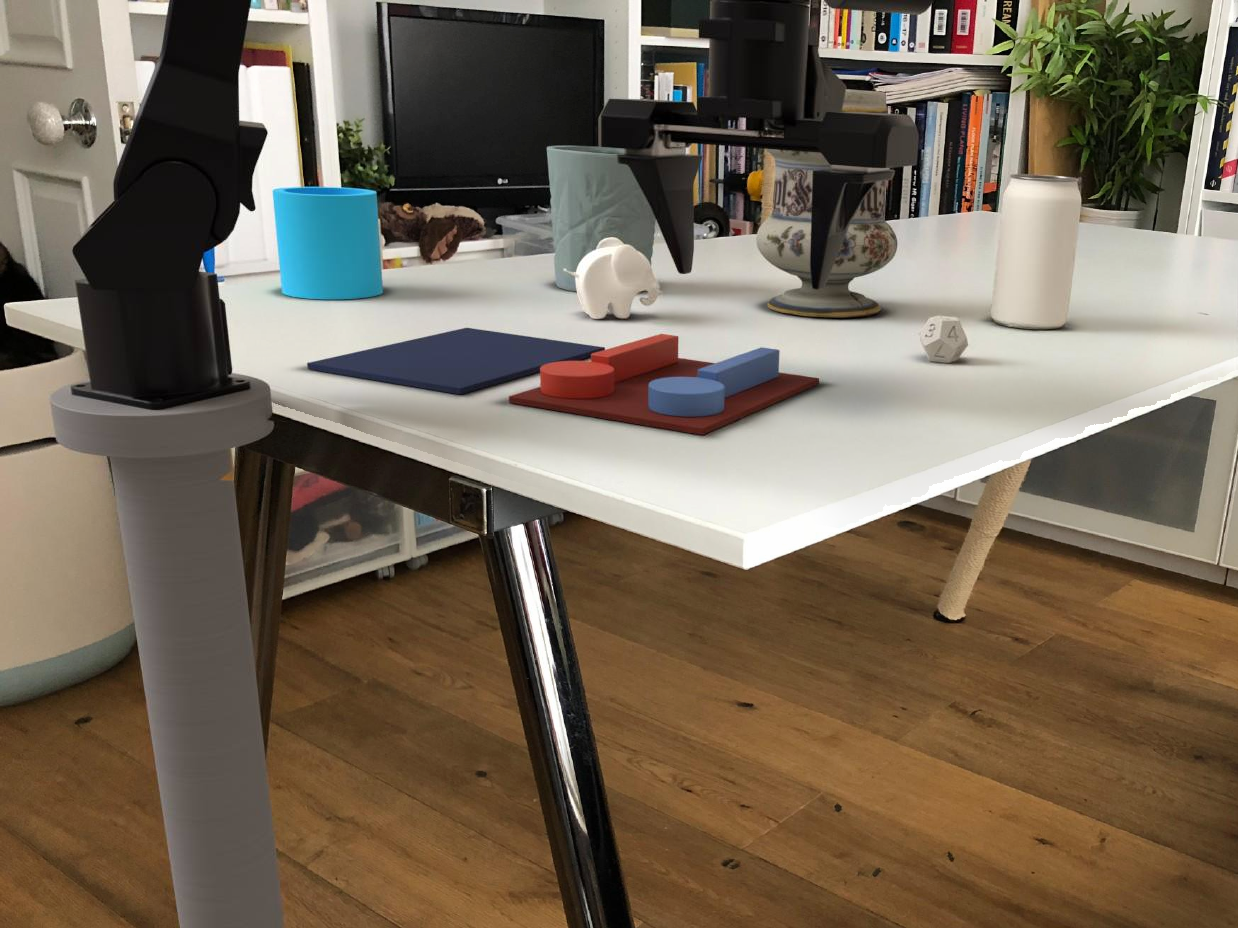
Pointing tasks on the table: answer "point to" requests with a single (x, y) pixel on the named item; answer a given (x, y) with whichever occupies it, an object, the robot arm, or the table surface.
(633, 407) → the red mat
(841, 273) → the apothecary jar
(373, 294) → the mug
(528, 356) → the blue mat
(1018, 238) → the can
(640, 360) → the red spoon
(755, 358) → the blue spoon
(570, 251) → the green plant pot
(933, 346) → the game die
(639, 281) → the elephant figurine
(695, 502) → the table surface
